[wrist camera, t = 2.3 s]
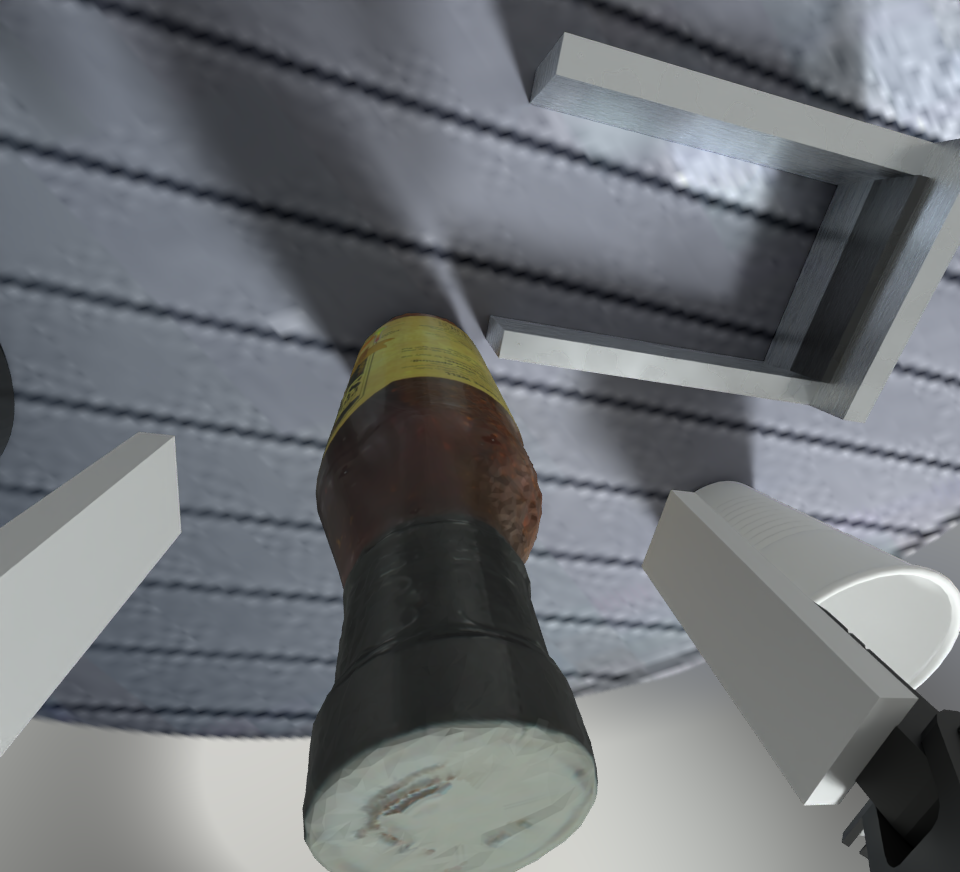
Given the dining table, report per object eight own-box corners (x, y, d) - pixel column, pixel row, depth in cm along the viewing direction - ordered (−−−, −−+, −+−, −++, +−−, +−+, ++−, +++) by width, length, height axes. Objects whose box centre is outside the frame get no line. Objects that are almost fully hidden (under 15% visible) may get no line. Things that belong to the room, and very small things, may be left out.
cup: (705, 599, 33) (830, 756, 23) (608, 540, 30) (706, 694, 20) (810, 498, 31) (1003, 625, 21) (718, 421, 27) (893, 528, 17)
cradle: (485, 338, 24) (507, 370, 18) (536, 69, 19) (584, 5, 14) (772, 384, 27) (864, 423, 21) (869, 163, 23) (1014, 141, 17)
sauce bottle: (347, 316, 22) (66, 666, 4) (475, 302, 23) (712, 561, 5) (371, 439, 25) (263, 975, 7) (485, 424, 25) (662, 885, 7)
